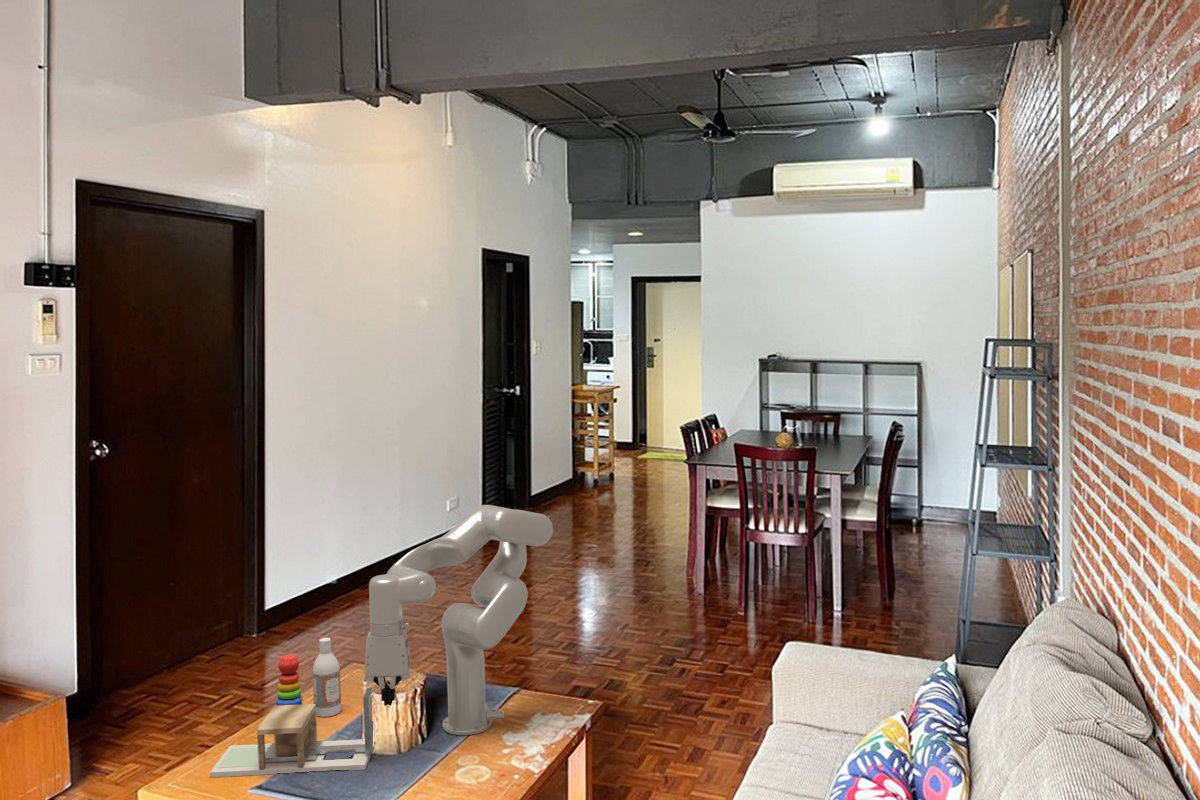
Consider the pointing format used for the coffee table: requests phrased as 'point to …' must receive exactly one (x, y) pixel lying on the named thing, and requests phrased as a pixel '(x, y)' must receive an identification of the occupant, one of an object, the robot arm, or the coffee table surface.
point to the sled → (317, 748)
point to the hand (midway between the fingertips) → (388, 703)
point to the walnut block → (290, 742)
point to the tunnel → (288, 727)
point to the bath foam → (326, 681)
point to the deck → (247, 763)
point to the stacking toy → (289, 682)
